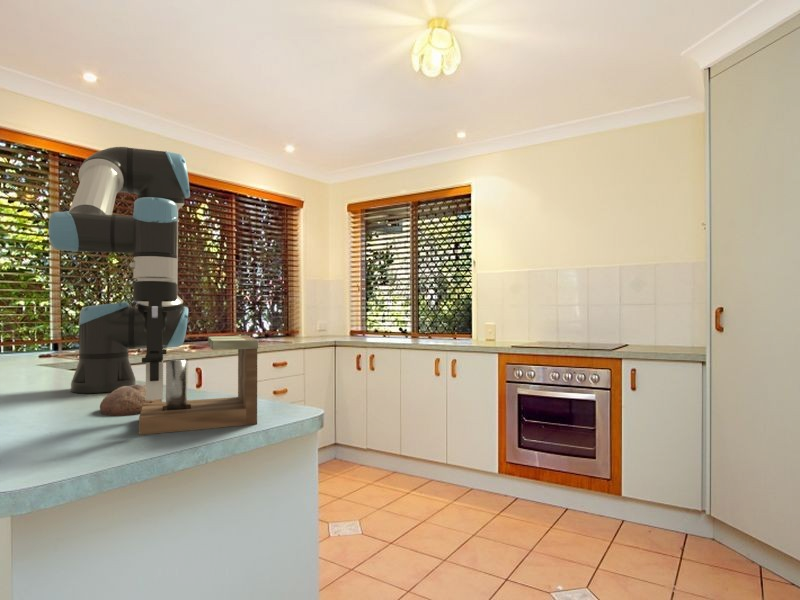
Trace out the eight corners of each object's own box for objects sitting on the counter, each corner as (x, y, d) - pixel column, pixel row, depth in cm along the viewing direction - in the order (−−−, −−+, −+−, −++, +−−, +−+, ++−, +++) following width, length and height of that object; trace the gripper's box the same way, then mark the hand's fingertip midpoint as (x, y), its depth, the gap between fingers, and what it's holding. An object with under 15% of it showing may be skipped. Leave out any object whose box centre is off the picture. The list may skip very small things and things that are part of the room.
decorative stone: (128, 419, 102) (128, 391, 102) (86, 414, 106) (86, 387, 106) (173, 407, 113) (174, 383, 113) (134, 403, 117) (134, 380, 117)
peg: (186, 420, 99) (186, 359, 99) (186, 424, 96) (186, 360, 96) (166, 422, 98) (166, 360, 98) (165, 426, 94) (166, 361, 95)
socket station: (144, 417, 102) (144, 338, 102) (247, 409, 110) (247, 335, 110) (138, 436, 87) (139, 343, 87) (257, 425, 95) (258, 340, 95)
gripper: (136, 283, 106) (136, 384, 105) (128, 277, 83) (127, 406, 83) (176, 283, 109) (175, 382, 108) (178, 278, 86) (178, 403, 86)
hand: (154, 393), depth 96 cm, fingers open, 13 cm apart
